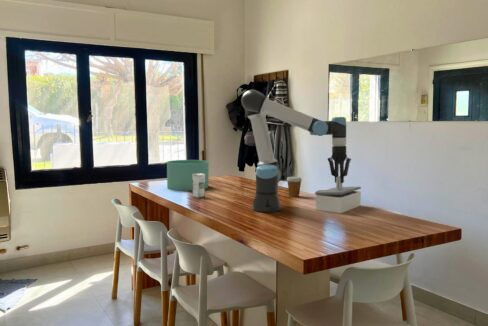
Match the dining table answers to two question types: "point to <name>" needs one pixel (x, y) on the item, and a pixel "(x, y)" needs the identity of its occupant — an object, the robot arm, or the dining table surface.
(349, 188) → the cover
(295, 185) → the disposable coffee cup
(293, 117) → the robot arm
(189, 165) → the container
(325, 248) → the dining table surface
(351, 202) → the box
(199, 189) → the syrup box
